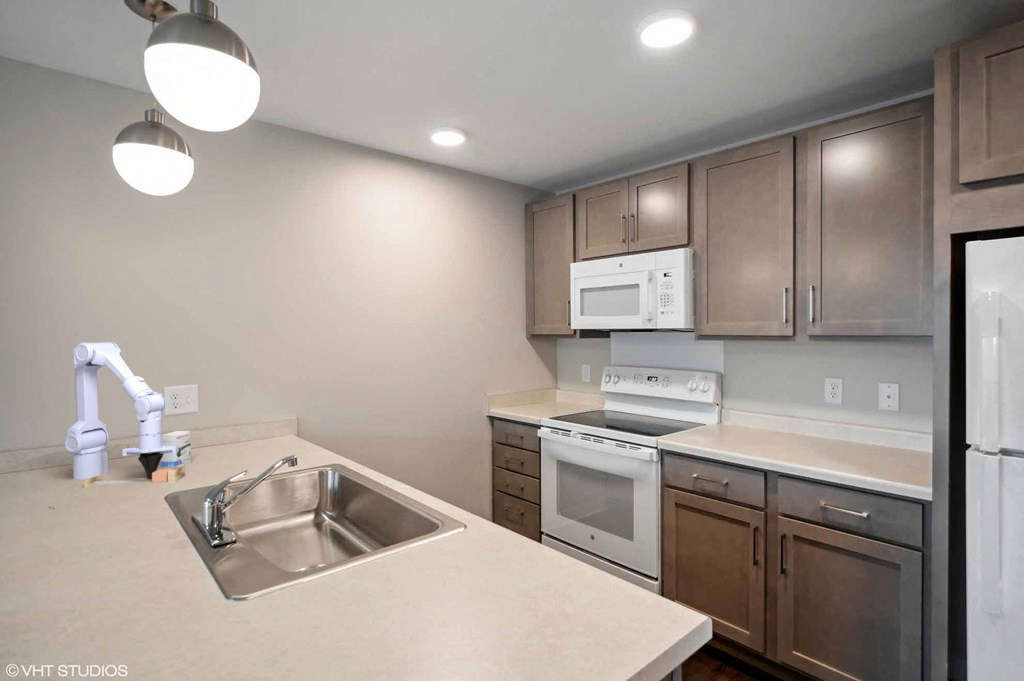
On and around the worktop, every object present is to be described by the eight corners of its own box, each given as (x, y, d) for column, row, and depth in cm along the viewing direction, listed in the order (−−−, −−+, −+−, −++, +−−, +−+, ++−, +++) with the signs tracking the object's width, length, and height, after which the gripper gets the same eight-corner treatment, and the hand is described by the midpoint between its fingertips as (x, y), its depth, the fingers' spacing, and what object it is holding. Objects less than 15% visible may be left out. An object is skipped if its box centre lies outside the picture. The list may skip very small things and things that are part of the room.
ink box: (175, 469, 173) (175, 435, 173) (161, 469, 173) (160, 435, 173) (191, 463, 181) (191, 430, 181) (177, 463, 182) (177, 430, 181)
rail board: (98, 484, 157) (97, 469, 157) (184, 479, 162) (184, 465, 162) (84, 491, 150) (84, 476, 150) (175, 485, 155) (175, 471, 155)
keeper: (159, 478, 160) (159, 468, 159) (173, 477, 160) (173, 468, 160) (152, 482, 155) (152, 473, 155) (166, 481, 156) (166, 472, 156)
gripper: (116, 437, 151) (117, 482, 151) (171, 435, 154) (172, 479, 155) (128, 432, 158) (129, 476, 158) (181, 430, 161) (181, 473, 161)
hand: (151, 477), depth 157 cm, fingers closed
